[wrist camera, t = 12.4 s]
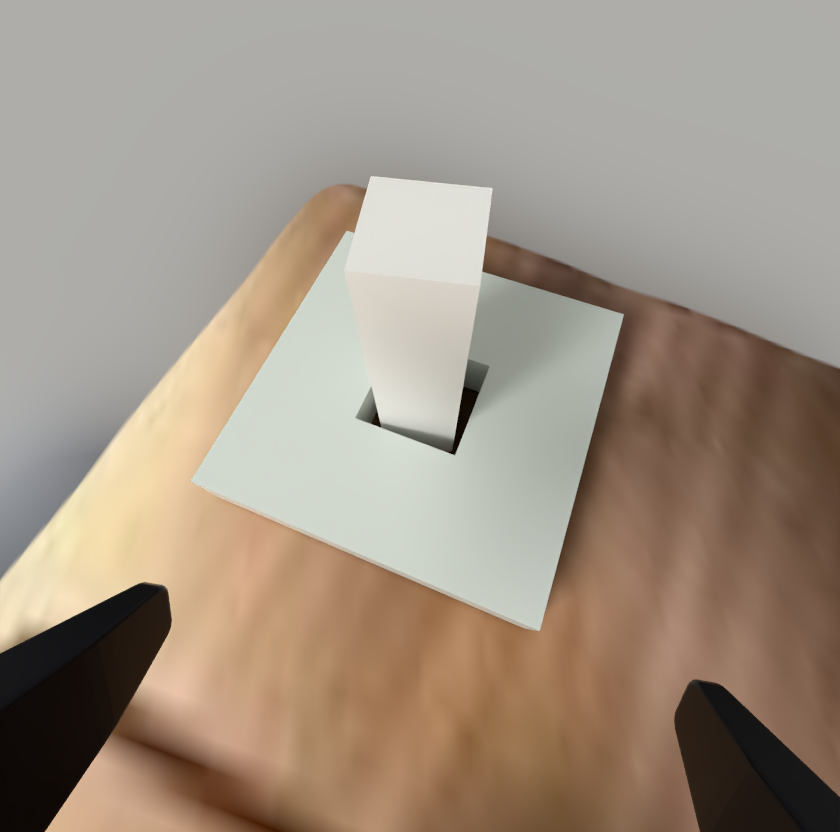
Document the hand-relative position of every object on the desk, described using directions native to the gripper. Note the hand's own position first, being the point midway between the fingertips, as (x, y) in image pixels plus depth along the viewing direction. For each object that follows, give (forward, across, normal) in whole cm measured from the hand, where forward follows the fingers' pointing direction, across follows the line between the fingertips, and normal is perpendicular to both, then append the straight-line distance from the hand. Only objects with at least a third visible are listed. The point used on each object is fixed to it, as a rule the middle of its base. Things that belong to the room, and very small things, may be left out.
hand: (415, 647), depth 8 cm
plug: (+17, +2, +2) cm, 17 cm away
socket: (+17, +1, +2) cm, 17 cm away
